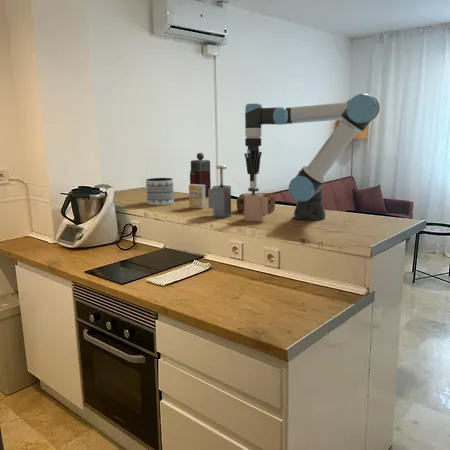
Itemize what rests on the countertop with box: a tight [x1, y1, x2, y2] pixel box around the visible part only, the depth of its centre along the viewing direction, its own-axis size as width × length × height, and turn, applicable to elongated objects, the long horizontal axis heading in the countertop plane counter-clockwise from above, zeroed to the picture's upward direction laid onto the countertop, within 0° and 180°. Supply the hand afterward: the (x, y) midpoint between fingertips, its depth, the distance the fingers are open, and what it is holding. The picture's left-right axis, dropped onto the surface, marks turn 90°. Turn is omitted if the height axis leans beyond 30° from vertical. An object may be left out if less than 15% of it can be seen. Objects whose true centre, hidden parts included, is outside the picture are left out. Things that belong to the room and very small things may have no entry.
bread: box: [236, 192, 276, 214], centre depth 246 cm, size 19×11×10 cm, turn 68°
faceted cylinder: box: [207, 184, 232, 219], centre depth 234 cm, size 9×12×15 cm
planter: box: [145, 177, 175, 206], centre depth 276 cm, size 16×16×14 cm
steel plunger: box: [215, 165, 227, 187], centre depth 231 cm, size 5×5×13 cm
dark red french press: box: [189, 152, 212, 198], centre depth 296 cm, size 9×11×28 cm
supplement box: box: [188, 184, 207, 210], centre depth 258 cm, size 8×5×13 cm, turn 68°
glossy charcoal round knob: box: [247, 187, 259, 196], centre depth 224 cm, size 5×5×12 cm
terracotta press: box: [243, 193, 269, 222], centre depth 224 cm, size 9×12×12 cm
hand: (253, 187), depth 223 cm, fingers closed
